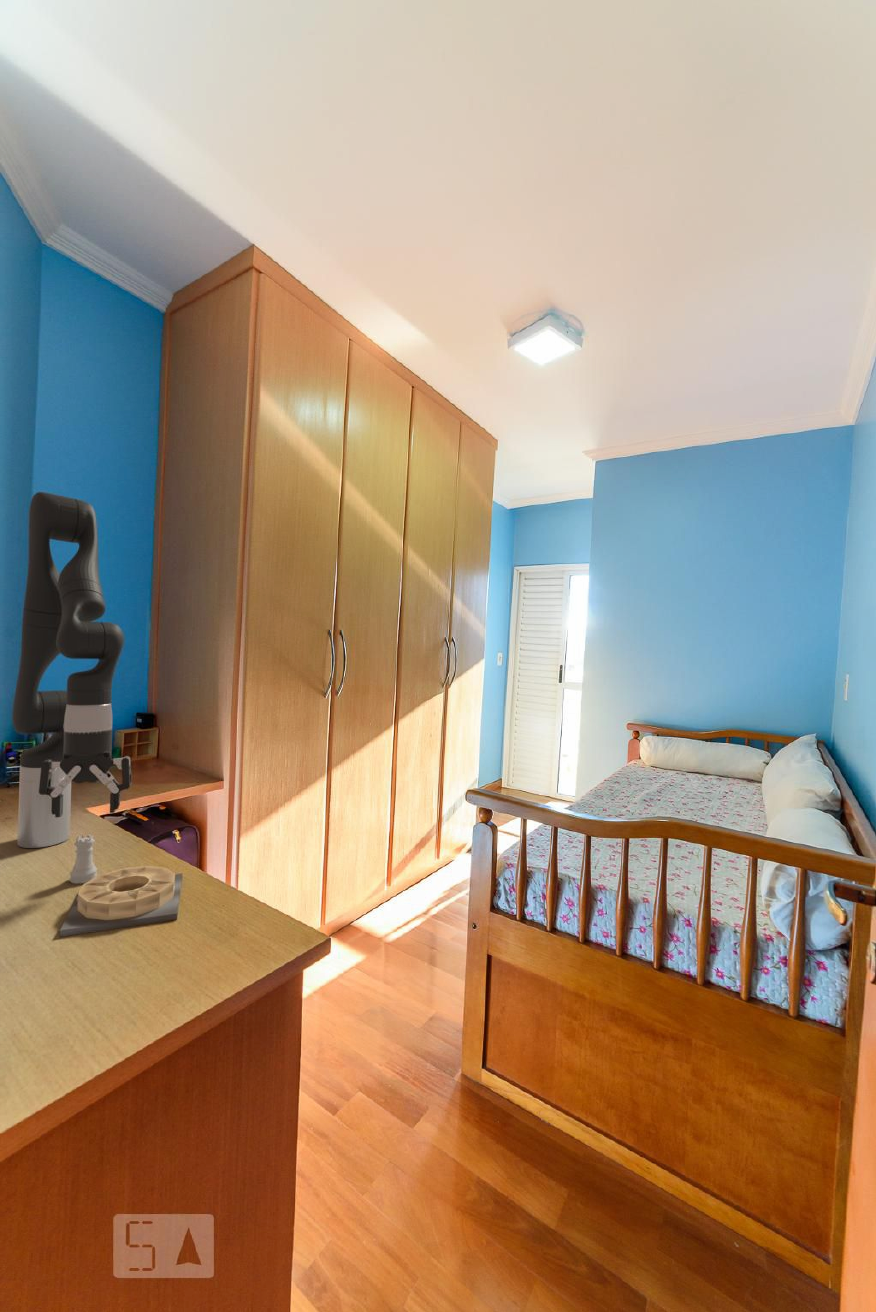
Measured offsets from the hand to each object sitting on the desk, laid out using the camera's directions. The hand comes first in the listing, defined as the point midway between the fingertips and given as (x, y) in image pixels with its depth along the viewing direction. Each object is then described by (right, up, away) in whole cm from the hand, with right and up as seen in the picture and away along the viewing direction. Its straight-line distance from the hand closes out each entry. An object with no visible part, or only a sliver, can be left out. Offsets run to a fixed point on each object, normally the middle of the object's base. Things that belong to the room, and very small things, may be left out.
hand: (86, 814), depth 98 cm
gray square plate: (+13, -13, -8) cm, 20 cm away
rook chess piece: (-1, -13, 0) cm, 13 cm away
